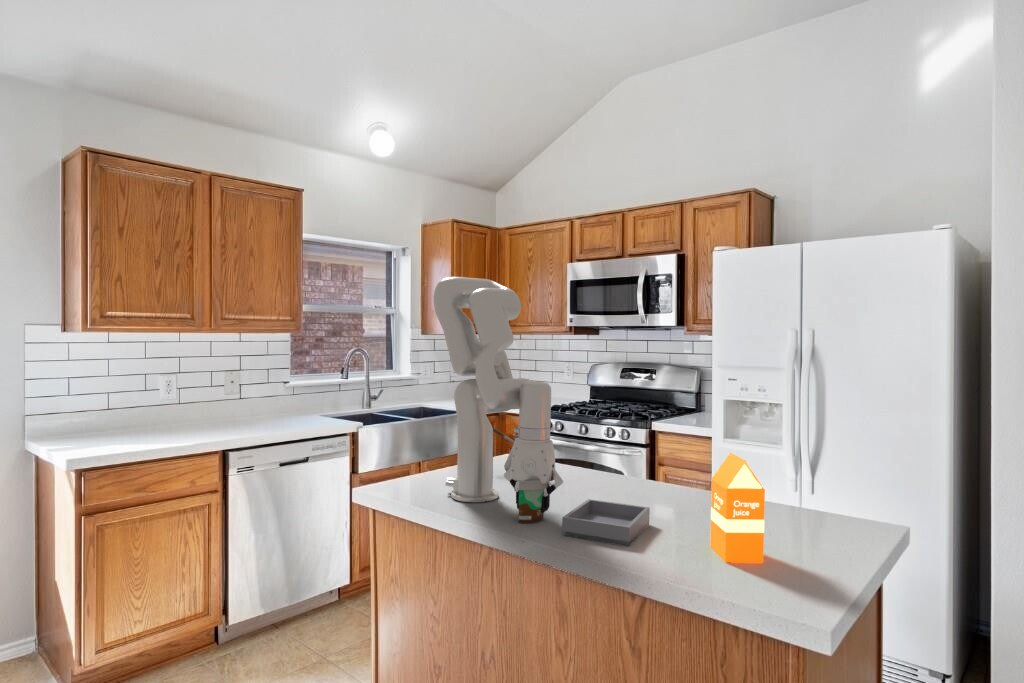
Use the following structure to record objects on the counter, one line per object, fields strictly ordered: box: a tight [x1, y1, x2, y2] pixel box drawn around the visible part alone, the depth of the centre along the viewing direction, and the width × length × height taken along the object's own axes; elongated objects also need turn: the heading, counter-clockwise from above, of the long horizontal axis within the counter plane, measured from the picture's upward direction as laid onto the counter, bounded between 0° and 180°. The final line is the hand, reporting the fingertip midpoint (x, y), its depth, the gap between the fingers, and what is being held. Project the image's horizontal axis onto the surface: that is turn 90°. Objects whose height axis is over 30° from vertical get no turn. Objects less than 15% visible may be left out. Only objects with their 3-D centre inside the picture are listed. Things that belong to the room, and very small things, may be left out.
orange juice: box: [709, 452, 766, 564], centre depth 128 cm, size 8×9×20 cm
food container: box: [518, 480, 549, 524], centre depth 151 cm, size 12×6×10 cm, turn 168°
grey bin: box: [561, 498, 651, 547], centre depth 143 cm, size 15×17×4 cm
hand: (532, 508), depth 152 cm, fingers closed on food container, 5 cm apart
